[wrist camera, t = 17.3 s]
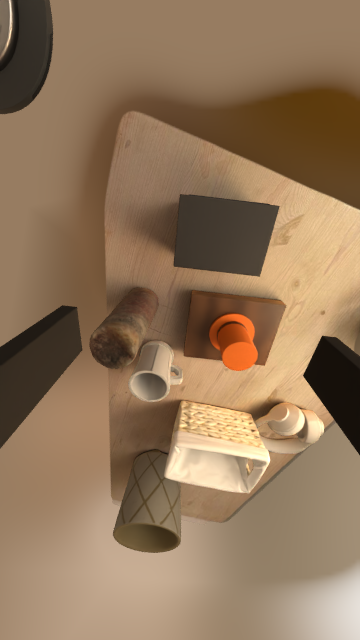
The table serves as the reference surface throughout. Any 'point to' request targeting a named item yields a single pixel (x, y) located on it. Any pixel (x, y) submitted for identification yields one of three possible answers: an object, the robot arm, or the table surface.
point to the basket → (215, 448)
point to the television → (223, 234)
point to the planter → (150, 507)
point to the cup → (154, 372)
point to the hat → (234, 340)
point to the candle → (124, 329)
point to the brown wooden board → (217, 304)
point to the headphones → (291, 428)
